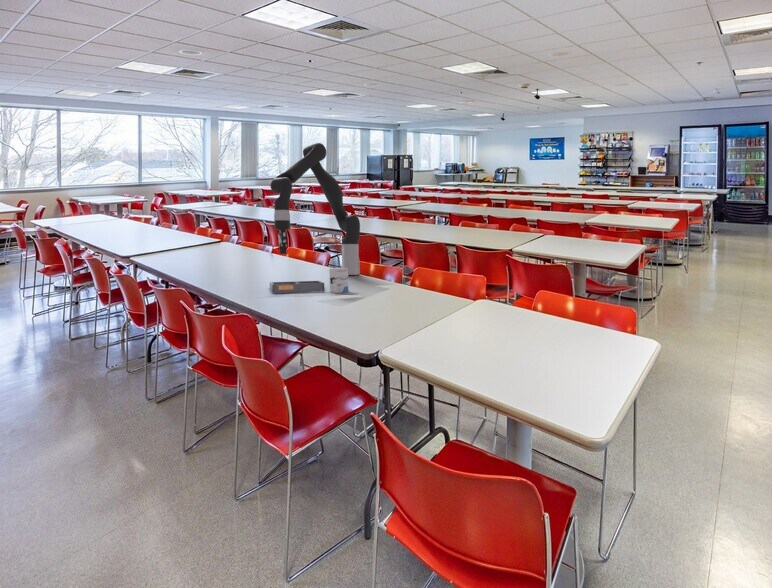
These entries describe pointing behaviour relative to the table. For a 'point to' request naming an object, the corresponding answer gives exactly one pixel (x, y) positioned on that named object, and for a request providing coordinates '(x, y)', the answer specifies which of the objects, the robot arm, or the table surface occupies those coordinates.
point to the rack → (296, 286)
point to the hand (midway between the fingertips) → (283, 253)
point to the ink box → (338, 280)
